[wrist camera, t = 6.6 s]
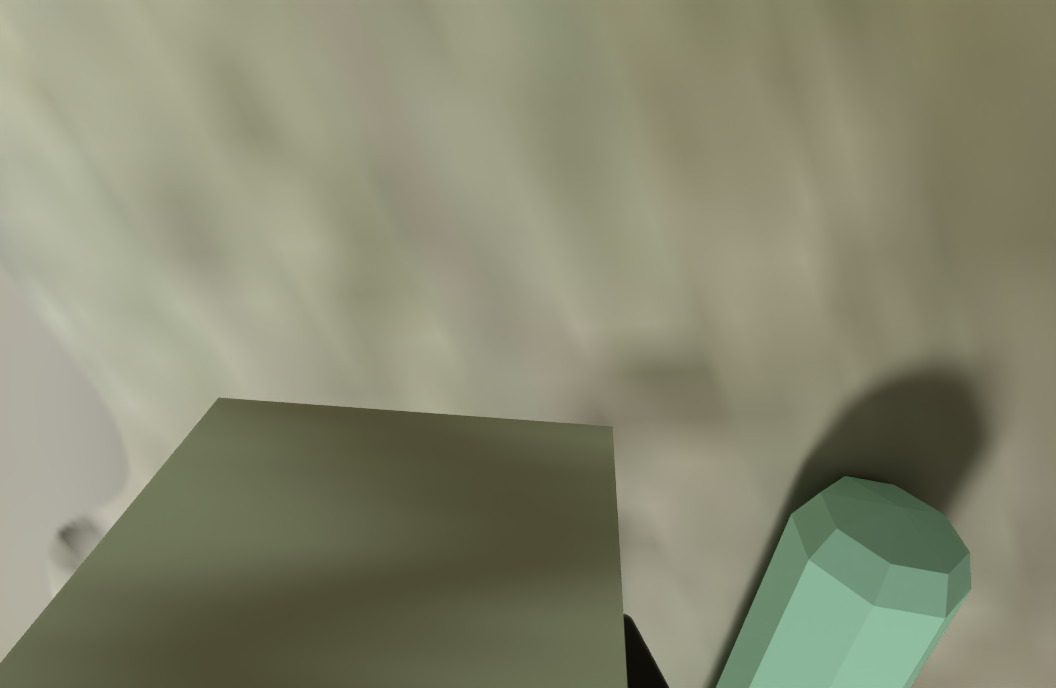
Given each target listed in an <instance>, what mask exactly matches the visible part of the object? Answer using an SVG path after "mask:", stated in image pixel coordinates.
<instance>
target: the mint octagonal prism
mask: <svg viewBox="0 0 1056 688" xmlns="http://www.w3.org/2000/svg"><path fill="white" fill-rule="evenodd" d="M970 590H971V573H970V552H969V550H968V549H967V547H966V546H965V544H964V543H963V541H962V540H961V538H960V537H959V535H958V534H957V532H956V531H955V529H954V528H953V526H952V525H951V523H950V522H949V520H948V519H947V517H946V516H945V515H944V514H943V513H941V512H939V511H938V510H936V509H934V508H933V507H931V506H929V505H928V504H926V503H924V502H923V501H921V500H919V499H917V498H916V497H914V496H912V495H911V494H909V493H907V492H906V491H904V490H902V489H901V488H899V487H897V486H895V485H893V484H887V483H881V482H876V481H870V480H865V479H859V478H854V477H848V476H844V477H843V478H841V479H840V480H838V481H837V482H835V483H834V484H832V485H831V486H829V487H828V488H826V489H825V490H823V491H822V492H820V493H819V494H817V495H816V496H815V497H813V498H812V499H811V500H809V501H808V502H807V503H805V504H804V505H803V506H801V507H800V508H799V509H797V510H796V511H795V512H793V513H792V514H791V516H790V518H789V520H788V523H787V525H786V527H785V529H784V532H783V534H782V536H781V539H780V541H779V543H778V546H777V548H776V550H775V553H774V555H773V557H772V559H771V562H770V564H769V566H768V569H767V571H766V573H765V576H764V578H763V580H762V583H761V585H760V587H759V589H758V592H757V594H756V596H755V599H754V601H753V603H752V606H751V608H750V610H749V613H748V615H747V617H746V619H745V622H744V624H743V626H742V629H741V631H740V633H739V636H738V638H737V640H736V643H735V645H734V647H733V649H732V652H731V654H730V656H729V659H728V661H727V663H726V666H725V668H724V670H723V673H722V675H721V677H720V679H719V682H718V684H717V686H716V688H910V687H911V685H912V684H913V682H914V680H915V679H916V677H917V676H918V674H919V672H920V671H921V669H922V667H923V666H924V664H925V663H926V661H927V659H928V658H929V656H930V654H931V653H932V651H933V650H934V648H935V646H936V645H937V643H938V642H939V640H940V638H941V637H942V635H943V633H944V632H945V630H946V629H947V627H948V625H949V624H950V622H951V620H952V619H953V617H954V616H955V614H956V612H957V611H958V609H959V608H960V606H961V604H962V603H963V601H964V599H965V598H966V596H967V595H968V593H969V591H970Z"/></svg>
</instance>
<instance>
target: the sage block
mask: <svg viewBox="0 0 1056 688" xmlns="http://www.w3.org/2000/svg"><path fill="white" fill-rule="evenodd" d="M0 688H627V670H626V653H625V636H624V618H623V601H622V584H621V566H620V549H619V532H618V514H617V497H616V480H615V462H614V445H613V428H612V427H611V426H598V425H584V424H570V423H557V422H543V421H529V420H516V419H502V418H488V417H475V416H461V415H448V414H434V413H420V412H407V411H393V410H379V409H366V408H352V407H338V406H325V405H311V404H297V403H284V402H270V401H257V400H243V399H229V398H218V399H217V400H216V402H215V403H214V404H213V405H212V406H211V408H210V409H209V410H208V411H207V413H206V414H205V415H204V416H203V417H202V419H201V420H200V421H199V422H198V423H197V425H196V426H195V427H194V428H193V430H192V431H191V432H190V433H189V434H188V436H187V437H186V438H185V439H184V440H183V442H182V443H181V444H180V445H179V447H178V448H177V449H176V450H175V451H174V453H173V454H172V455H171V456H170V457H169V459H168V460H167V461H166V462H165V464H164V465H163V466H162V467H161V468H160V470H159V471H158V472H157V473H156V475H155V476H154V477H153V478H152V479H151V481H150V482H149V483H148V484H147V485H146V487H145V488H144V489H143V490H142V492H141V493H140V494H139V495H138V496H137V498H136V499H135V500H134V501H133V502H132V504H131V505H130V506H129V507H128V509H127V510H126V511H125V512H124V513H123V515H122V516H121V517H120V518H119V519H118V521H117V522H116V523H115V524H114V526H113V527H112V528H111V529H110V530H109V532H108V533H107V534H106V535H105V537H104V538H103V539H102V540H101V541H100V543H99V544H98V545H97V546H96V547H95V549H94V550H93V551H92V552H91V554H90V555H89V556H88V557H87V558H86V560H85V561H84V562H83V563H82V564H81V566H80V567H79V568H78V569H77V571H76V572H75V573H74V574H73V575H72V577H71V578H70V579H69V580H68V582H67V583H66V584H65V585H64V586H63V588H62V589H61V590H60V591H59V592H58V594H57V595H56V596H55V597H54V599H53V600H52V601H51V602H50V604H49V605H48V606H47V607H46V608H45V610H44V611H43V612H42V613H41V614H40V616H39V617H38V618H37V619H36V620H35V622H34V623H33V624H32V625H31V627H30V628H29V629H28V630H27V631H26V633H25V634H24V635H23V636H22V637H21V639H20V640H19V641H18V642H17V644H16V645H15V646H14V647H13V648H12V650H11V651H10V652H9V653H8V654H7V656H6V657H5V658H4V659H3V661H2V662H1V663H0Z"/></svg>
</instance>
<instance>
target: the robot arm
mask: <svg viewBox="0 0 1056 688" xmlns="http://www.w3.org/2000/svg"><path fill="white" fill-rule="evenodd" d="M623 618H624V636H625V653H626V670H627V688H669V686H668V684H667V682H666V681H665V679H664V677H663V675H662V673H661V671H660V669H659V668H658V666H657V664H656V662H655V660H654V658H653V656H652V655H651V653H650V651H649V649H648V647H647V645H646V643H645V642H644V640H643V638H642V636H641V634H640V632H639V630H638V629H637V627H636V625H635V623H634V621H633V620H632V618H631V617H630V616H628V615H626V614H623Z"/></svg>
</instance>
